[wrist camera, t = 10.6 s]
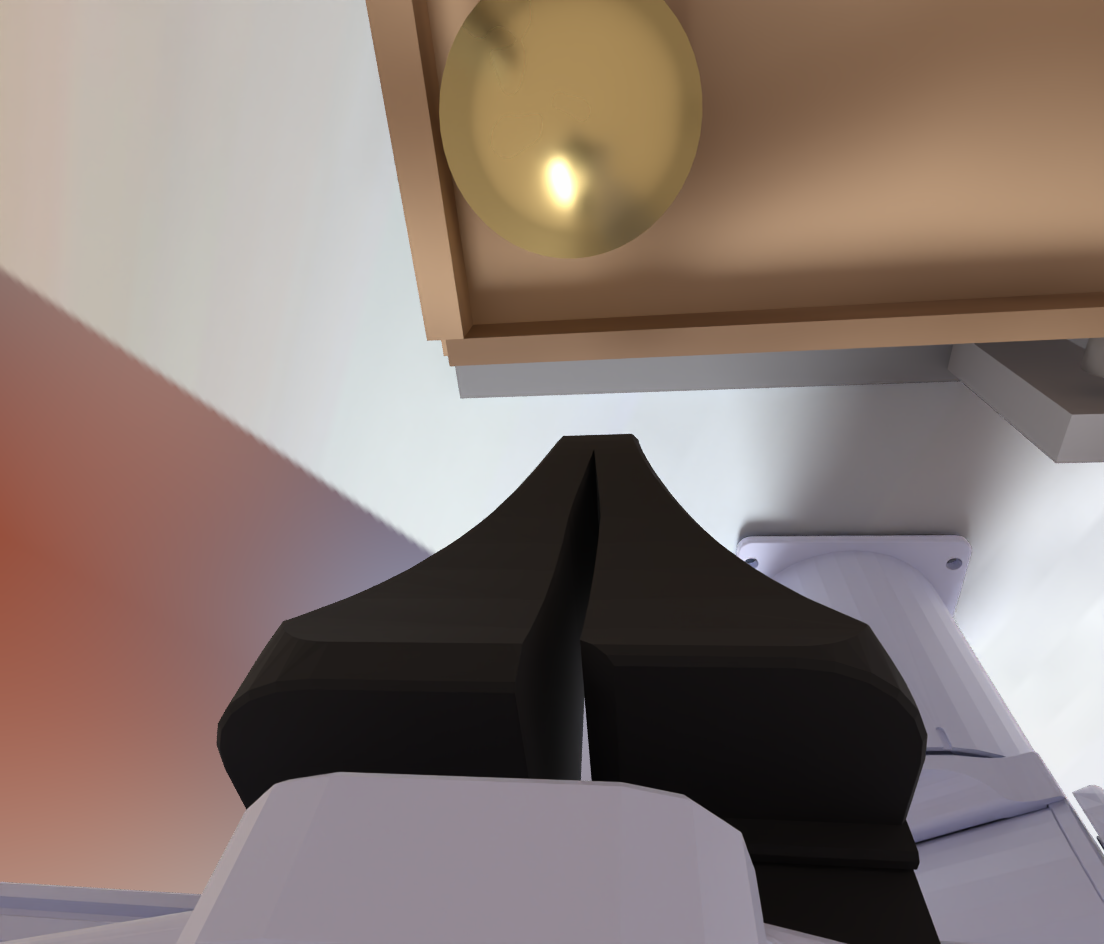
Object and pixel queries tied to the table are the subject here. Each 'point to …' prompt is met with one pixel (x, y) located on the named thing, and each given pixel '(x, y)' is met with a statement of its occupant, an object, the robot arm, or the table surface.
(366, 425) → the table surface
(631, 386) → the beam stand
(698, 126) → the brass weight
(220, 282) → the table surface
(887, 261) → the beam
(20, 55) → the table surface
